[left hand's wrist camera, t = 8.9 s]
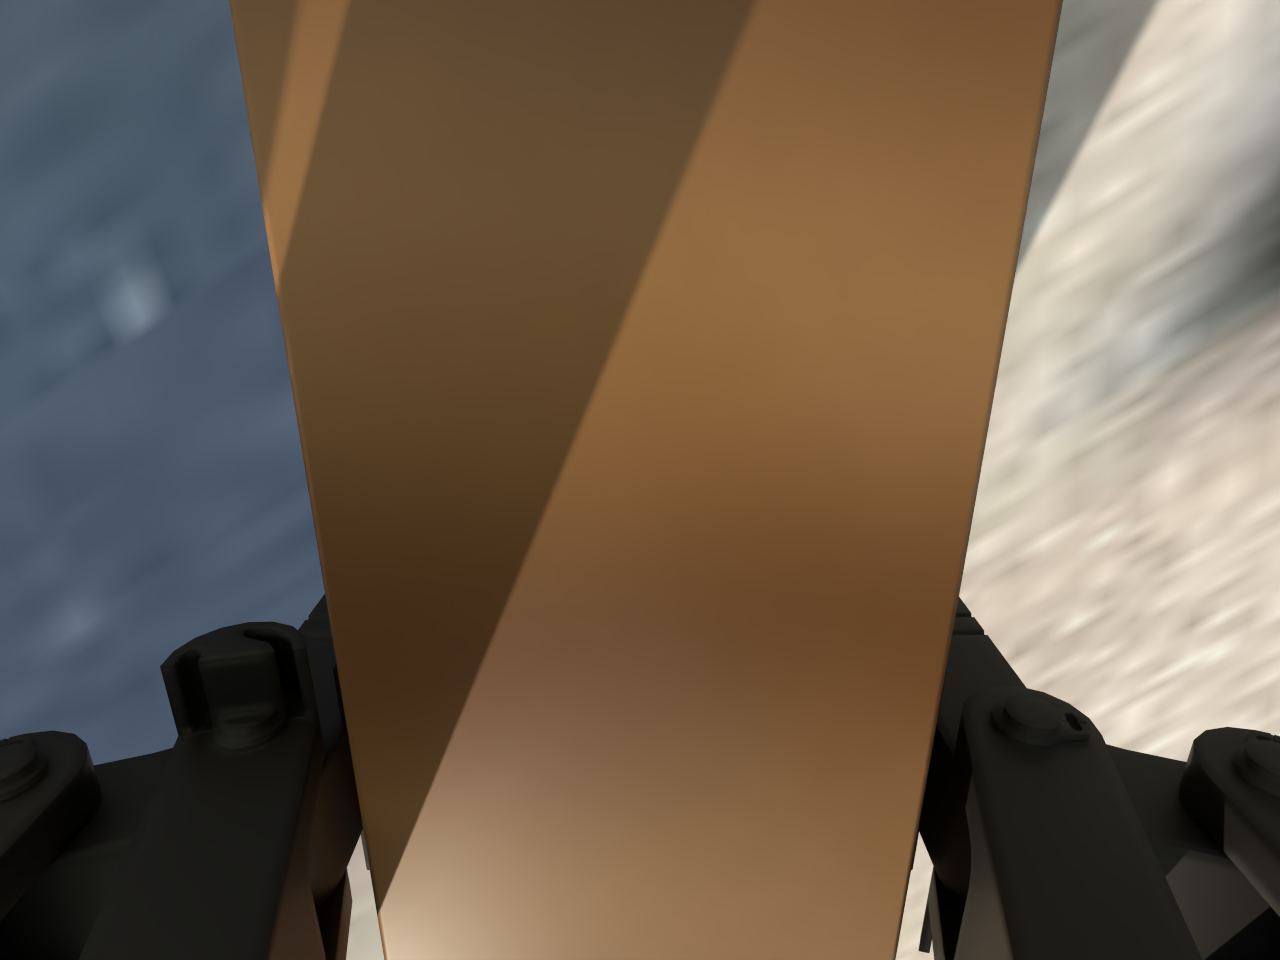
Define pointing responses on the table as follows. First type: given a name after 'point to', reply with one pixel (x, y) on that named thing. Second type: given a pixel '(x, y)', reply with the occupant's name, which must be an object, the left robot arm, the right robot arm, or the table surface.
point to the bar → (643, 441)
